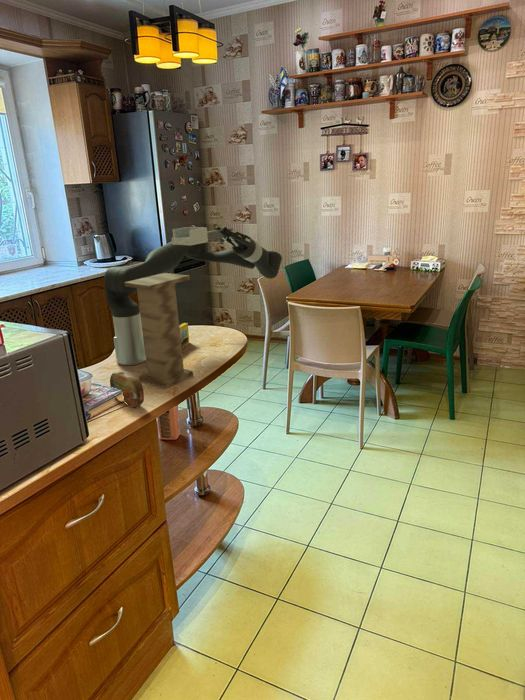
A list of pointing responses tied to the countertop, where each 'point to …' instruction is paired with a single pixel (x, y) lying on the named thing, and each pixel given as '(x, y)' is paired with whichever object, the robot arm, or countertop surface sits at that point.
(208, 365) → the countertop surface
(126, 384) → the tin
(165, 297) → the stand
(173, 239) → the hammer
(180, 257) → the robot arm
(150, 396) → the countertop surface
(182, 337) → the candy box
